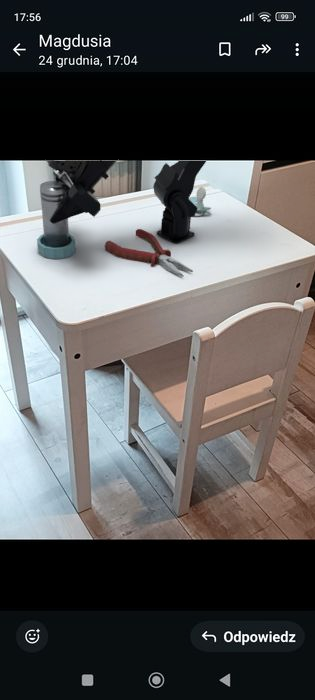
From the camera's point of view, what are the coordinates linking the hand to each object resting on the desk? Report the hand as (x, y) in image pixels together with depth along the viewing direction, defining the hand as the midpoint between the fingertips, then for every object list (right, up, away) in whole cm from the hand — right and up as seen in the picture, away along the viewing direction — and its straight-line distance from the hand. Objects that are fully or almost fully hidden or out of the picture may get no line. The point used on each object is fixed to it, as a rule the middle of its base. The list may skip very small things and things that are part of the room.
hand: (48, 216), depth 117 cm
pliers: (+20, -8, +5) cm, 22 cm away
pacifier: (+32, +7, +25) cm, 41 cm away
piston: (+1, -5, +5) cm, 7 cm away
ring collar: (+1, -6, +5) cm, 8 cm away
